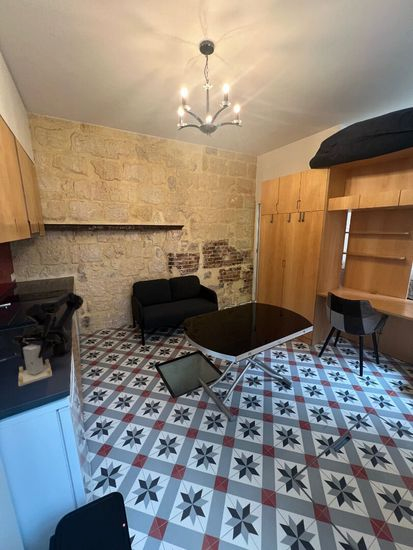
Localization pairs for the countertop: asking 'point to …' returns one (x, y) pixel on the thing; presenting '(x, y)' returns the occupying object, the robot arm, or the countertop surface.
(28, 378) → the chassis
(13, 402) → the countertop surface
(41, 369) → the skincare box
